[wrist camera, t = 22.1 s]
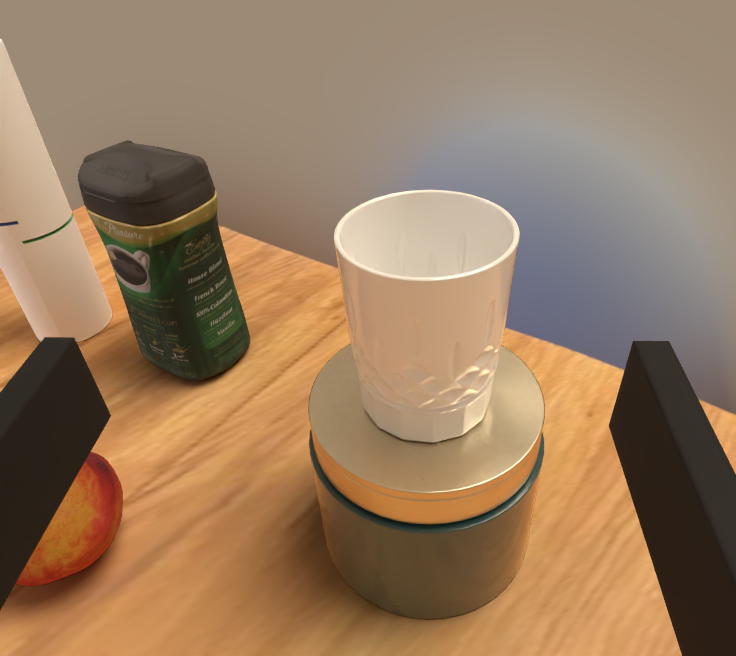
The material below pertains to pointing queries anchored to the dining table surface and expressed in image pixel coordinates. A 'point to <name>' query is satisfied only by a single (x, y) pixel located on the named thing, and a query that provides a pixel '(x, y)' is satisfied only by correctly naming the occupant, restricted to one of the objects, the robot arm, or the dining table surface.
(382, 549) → the jar
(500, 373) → the jar lid
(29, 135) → the cylindrical container
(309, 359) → the dining table surface
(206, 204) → the coffee jar
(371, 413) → the white cup
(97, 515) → the fruit
